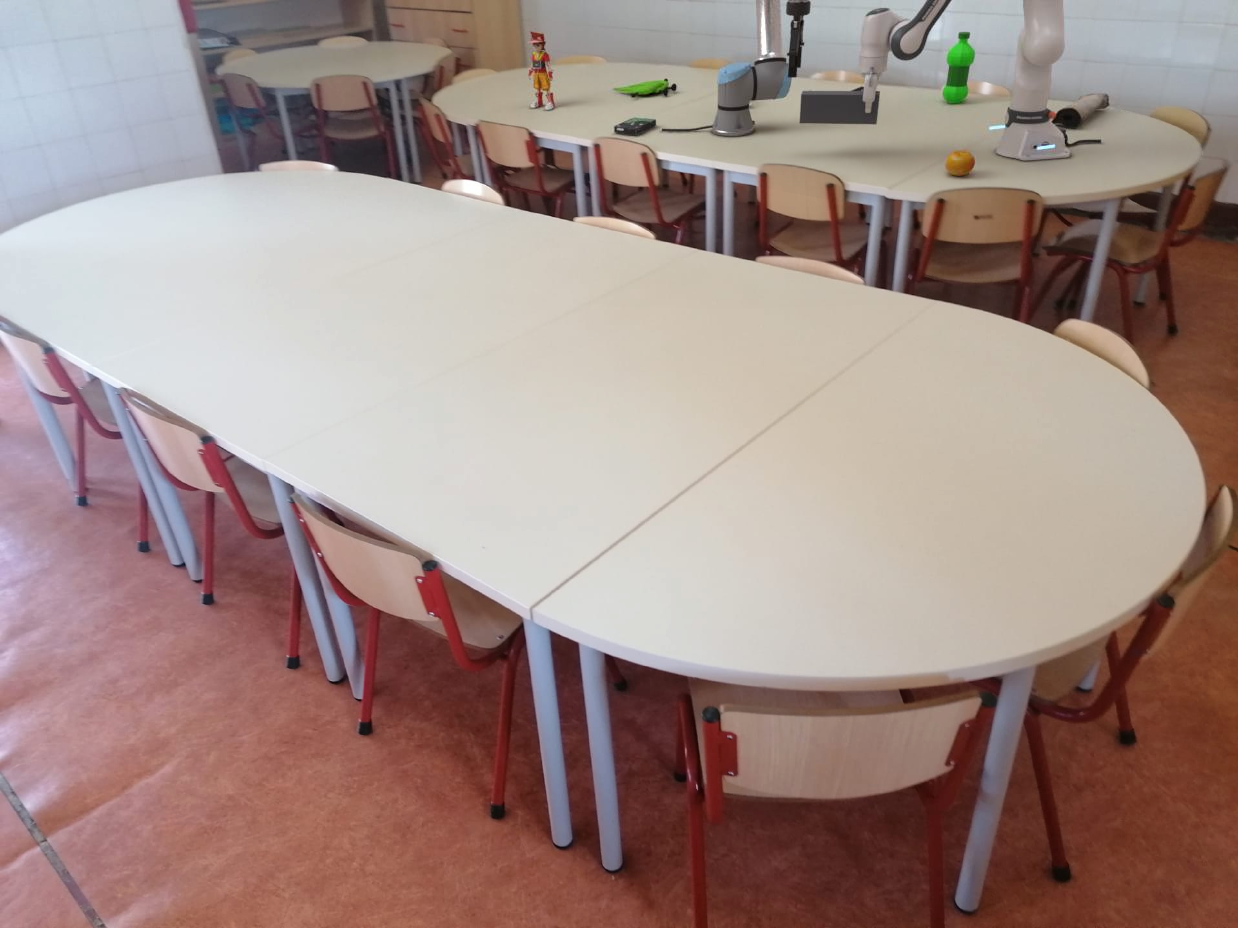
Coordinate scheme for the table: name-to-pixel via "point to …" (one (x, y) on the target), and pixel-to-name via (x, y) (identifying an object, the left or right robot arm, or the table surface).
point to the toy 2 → (648, 88)
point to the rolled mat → (1081, 109)
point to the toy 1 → (541, 71)
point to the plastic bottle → (958, 69)
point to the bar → (837, 108)
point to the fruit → (960, 163)
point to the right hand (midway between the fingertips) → (868, 110)
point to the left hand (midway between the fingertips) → (794, 72)
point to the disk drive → (635, 126)
